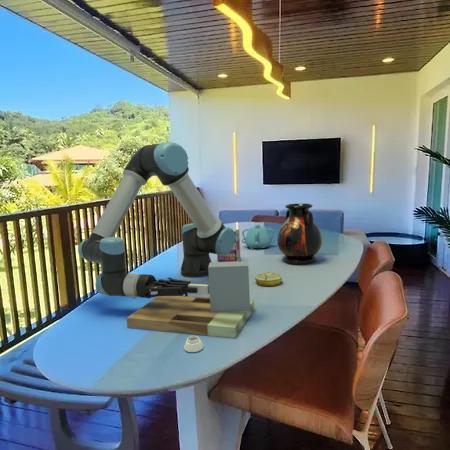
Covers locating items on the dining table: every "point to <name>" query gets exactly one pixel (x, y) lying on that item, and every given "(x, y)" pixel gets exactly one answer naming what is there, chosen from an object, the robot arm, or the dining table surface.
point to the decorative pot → (258, 237)
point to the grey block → (229, 286)
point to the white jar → (193, 344)
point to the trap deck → (188, 317)
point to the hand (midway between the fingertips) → (208, 289)
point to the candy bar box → (232, 251)
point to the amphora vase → (299, 235)
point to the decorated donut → (268, 279)
